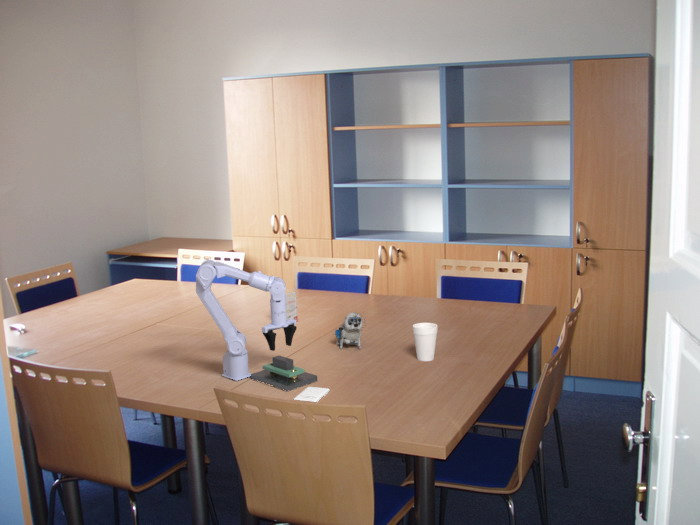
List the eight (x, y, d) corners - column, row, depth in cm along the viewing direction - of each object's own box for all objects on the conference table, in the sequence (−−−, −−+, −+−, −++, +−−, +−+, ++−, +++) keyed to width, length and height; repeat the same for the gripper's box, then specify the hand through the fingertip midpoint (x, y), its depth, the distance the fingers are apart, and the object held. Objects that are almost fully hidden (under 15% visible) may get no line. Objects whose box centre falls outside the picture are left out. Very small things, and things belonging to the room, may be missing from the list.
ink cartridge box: (289, 320, 349) (288, 289, 346) (298, 321, 346) (296, 290, 343) (278, 324, 342) (276, 293, 339) (286, 326, 339) (285, 294, 336)
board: (262, 368, 267) (261, 356, 266) (277, 364, 271) (277, 352, 271) (289, 377, 256) (288, 365, 255) (304, 372, 261) (304, 360, 260)
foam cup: (410, 361, 281) (409, 328, 278) (417, 354, 289) (416, 321, 287) (434, 363, 277) (434, 329, 275) (440, 356, 286) (440, 323, 283)
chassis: (251, 379, 266) (250, 365, 266) (281, 369, 276) (280, 356, 275) (286, 391, 252) (286, 377, 252) (317, 381, 262) (316, 367, 261)
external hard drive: (329, 393, 251) (315, 405, 240) (307, 390, 254) (292, 403, 243) (329, 388, 251) (315, 401, 240) (307, 386, 254) (292, 398, 242)
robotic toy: (340, 353, 293) (339, 317, 291) (332, 342, 310) (331, 307, 307) (372, 350, 296) (370, 314, 293) (362, 339, 313) (361, 304, 310)
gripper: (269, 317, 259) (271, 354, 262) (301, 309, 269) (302, 345, 272) (257, 314, 264) (259, 350, 267) (288, 306, 274) (290, 341, 277)
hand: (280, 347), depth 270 cm, fingers open, 7 cm apart
